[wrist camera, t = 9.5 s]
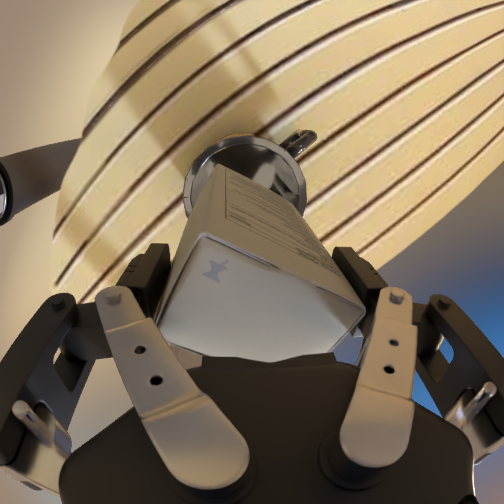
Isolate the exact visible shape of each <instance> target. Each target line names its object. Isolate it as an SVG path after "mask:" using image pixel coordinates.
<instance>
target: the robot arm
mask: <svg viewBox="0 0 504 504" xmlns="http://www.w3.org/2000/svg"><path fill="white" fill-rule="evenodd" d="M7 206H8V189H7V184H6V181H5V178H4V176H3V174H2V173H1V171H0V218H2V217H3V216H4V214H5V213H6V210H7ZM332 259H333V260H334V262H335V263H336V265H337V266H338V268H339V269H340V270H341V272H342V273H343V275H344V276H345V278H346V279H347V281H348V282H349V283H350V285H351V286H352V288H353V289H354V291H355V292H356V294H357V295H358V297H359V298H360V300H361V301H362V303H363V304H364V306H365V308H366V314H365V316H364V317H363V318H362V319H361V320H360V321H359V322H358V323H357V324H356V326H355V327H354V328H353V329H352V330H351V331H350V333H351V335H352V337H359V336H363V337H364V339H363V342H362V345H361V348H360V351H359V354H358V357H357V360H356V363H355V365H352V364H348V363H343V362H337V361H336V358H335V356H334V353H333V352H331V353H320V354H306V355H300V356H296V357H293V358H289V359H285V360H281V361H277V362H262V361H256V360H251V359H245V358H240V357H216V356H202V365H201V366H197V367H193V368H189V369H186V370H185V369H184V367H183V366H182V364H181V363H180V361H179V360H178V358H177V357H176V355H175V354H174V352H173V351H172V349H171V348H170V346H169V345H168V343H167V342H166V340H165V339H164V337H163V335H162V334H161V332H160V331H159V329H158V327H157V326H156V324H155V322H154V321H155V317H156V314H157V310H158V307H159V304H160V300H161V297H162V294H163V290H164V287H165V284H166V281H167V278H168V275H169V272H170V269H171V262H170V252H169V245H168V244H159V243H151V244H150V246H149V248H148V249H147V251H146V253H145V254H139V255H138V256H136V257H135V258H133V259H132V260H131V262H130V263H129V265H128V267H127V268H126V269H125V272H123V274H122V276H121V277H120V279H119V280H118V282H117V284H116V285H115V286H111V287H108V288H105V289H103V290H101V291H100V292H99V293H98V294H97V295H96V297H95V302H92V303H85V304H76V301H75V298H74V296H73V295H71V294H69V293H59V294H55V295H53V296H51V297H49V298H48V299H47V300H46V301H45V302H44V303H43V304H42V305H41V307H40V308H39V309H38V311H37V312H36V313H35V314H34V316H33V317H32V318H31V319H30V321H29V322H28V323H27V325H26V326H25V327H24V329H23V330H22V331H21V333H20V334H19V336H18V337H17V338H16V340H15V341H14V343H13V344H12V345H11V347H10V348H9V350H8V351H7V353H6V354H5V356H4V357H3V359H2V360H1V362H0V469H1V470H3V471H4V472H5V473H7V474H8V475H10V476H11V477H12V478H14V479H16V480H18V481H20V482H22V483H23V484H25V485H26V486H28V487H29V488H31V489H34V490H45V491H47V492H49V493H52V494H54V495H56V496H58V497H60V498H61V501H62V504H479V503H478V501H477V499H476V496H475V491H474V481H473V466H474V465H477V464H480V463H481V462H482V461H484V460H485V459H486V458H487V457H489V456H490V455H491V454H492V453H494V452H495V451H496V450H497V449H498V448H500V447H501V446H502V445H503V444H504V358H503V357H502V356H501V354H500V353H499V352H498V351H497V349H496V348H495V347H494V346H493V345H492V343H491V342H490V341H489V340H488V339H487V337H486V336H485V335H484V334H483V333H482V331H481V330H480V329H479V328H478V327H477V326H476V325H475V324H474V322H473V321H472V320H471V319H470V318H469V317H468V316H467V315H466V314H465V313H464V312H463V310H462V309H461V308H460V307H459V306H458V305H457V304H456V303H455V302H454V301H453V300H452V299H450V298H448V297H446V296H444V295H440V294H434V295H431V296H430V298H429V301H428V303H427V305H425V304H419V303H413V299H412V297H411V296H410V294H408V293H407V292H406V291H404V290H402V289H399V288H396V287H389V286H388V284H387V283H386V282H385V281H384V280H383V279H382V277H381V276H380V275H378V273H377V271H376V270H374V268H373V266H372V265H371V264H370V263H369V262H367V261H366V260H364V259H363V258H361V257H359V256H358V255H357V253H356V252H355V251H354V250H353V249H352V248H351V247H335V248H334V250H333V253H332ZM444 338H446V340H447V341H448V342H449V344H450V345H451V346H452V348H453V351H454V357H453V360H452V361H451V363H450V364H449V363H448V362H447V360H446V359H445V357H444V356H443V354H442V353H441V352H440V350H439V347H440V345H441V343H442V341H443V340H444ZM58 348H60V350H61V353H60V355H59V356H58V358H57V360H56V362H55V364H53V359H54V355H55V353H56V351H57V349H58ZM111 357H113V358H114V360H115V363H116V366H117V368H118V371H119V373H120V375H121V378H122V381H123V383H124V385H125V387H126V390H127V392H128V394H129V396H130V399H131V401H132V403H133V405H134V406H133V407H132V408H131V409H129V410H128V411H127V412H126V413H124V414H123V415H122V416H120V417H119V418H118V419H117V420H115V421H114V422H113V423H111V424H110V425H109V426H108V427H106V428H105V429H103V430H102V431H101V432H99V433H98V434H97V435H95V436H94V437H93V438H91V439H90V440H89V441H87V442H86V443H85V444H83V445H82V446H81V447H79V448H78V449H76V450H75V451H74V452H73V453H71V446H72V443H71V438H70V436H69V434H68V432H67V430H68V426H69V424H70V421H71V419H72V416H73V413H74V411H75V408H76V405H77V403H78V400H79V398H80V395H81V393H82V390H83V388H84V386H85V383H86V381H87V379H88V376H89V374H90V372H91V369H92V367H93V365H94V363H95V360H96V359H103V358H111ZM415 369H416V371H417V373H418V374H419V376H420V378H421V379H422V381H423V383H424V385H425V386H426V388H427V390H428V392H429V393H430V395H431V397H432V399H433V400H434V402H435V404H436V406H437V408H438V410H439V411H440V413H441V415H442V417H443V418H441V417H440V416H438V415H436V414H435V413H433V412H431V411H430V410H428V409H426V408H425V407H423V406H421V405H420V404H418V403H417V402H415V401H413V400H412V391H413V383H414V374H415Z"/></svg>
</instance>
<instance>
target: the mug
mask: <svg viewBox="0 0 504 504" xmlns="http://www.w3.org/2000/svg"><path fill="white" fill-rule="evenodd" d="M316 140H317V134H316V133H315V132H314V131H311V130H300V129H299V130H296V131H295V132H294V133H293V134H292V135H290V136H289V137H288V138H287V139H286V140H284V141H283V142H282V143H281V144H280V145H277V144H276V143H274V142H272V141H270V140H268V139H266V138H264V137H261V136H257V135H253V134H247V133H241V134H233V135H228V136H226V137H224V138H222V139H219V140H217V141H215V142H214V143H213V144H212V145H210V146H209V147H208V148H207V149H206V150H205V151H204V152H203V153H202V154H201V155H200V156H199V157H198V158H197V159H196V160H195V161H194V162H193V164H192V166H191V168H190V170H189V172H188V174H187V176H186V178H185V183H184V190H183V203H184V208H185V213H186V215H187V218H189V216H190V213H191V211H192V209H193V206H194V204H195V202H196V200H197V198H198V196H199V194H200V192H201V190H202V189H203V187H204V185H205V183H206V181H207V180H208V178H209V176H210V174H211V173H212V171H213V169H214V168H215V166H216V165H217V164H220V165H222V166H225V167H227V168H229V169H231V170H233V171H235V172H237V173H239V174H241V175H243V176H245V177H247V178H249V179H251V180H253V181H255V182H256V183H258V184H260V185H262V186H264V187H266V188H267V189H269V190H271V191H273V192H274V193H276V194H278V195H279V196H281V197H283V198H284V199H286V200H288V201H289V202H291V203H292V204H293V205H294V207H295V208H296V209H297V211H298V212H299V213H300V215H301V216H302V217H303V214H304V210H305V206H306V203H307V193H306V181H305V178H304V176H303V173H302V171H301V168H300V166H299V164H298V163H297V162H296V161H295V158H296V157H297V156H298V155H299V154H301V153H302V152H303V151H304V150H305V149H307V148H308V147H309V146H310V145H311V144H313V143H314V142H315V141H316Z"/></svg>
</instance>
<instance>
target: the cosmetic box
mask: <svg viewBox="0 0 504 504" xmlns="http://www.w3.org/2000/svg"><path fill="white" fill-rule="evenodd" d="M365 314H366V308H365V306H364V304H363V303H362V301H361V300H360V298H359V297H358V295H357V294H356V292H355V291H354V289H353V288H352V286H351V285H350V283H349V282H348V281H347V279H346V278H345V276H344V275H343V273H342V272H341V270H340V269H339V268H338V266H337V265H336V263H335V262H334V260H333V259H332V257H331V256H330V255H329V253H328V252H327V250H326V249H325V247H324V246H323V245H322V243H321V242H320V241H319V239H318V238H317V236H316V235H315V234H314V232H313V231H312V230H311V228H310V227H309V226H308V224H307V223H306V222H305V220H304V219H303V218H302V216H301V215H300V213H299V212H298V211H297V209H296V208H295V207H294V205H293V204H292V203H291V202H289V201H288V200H286V199H284V198H283V197H281V196H279V195H278V194H276V193H274V192H273V191H271V190H269V189H267V188H266V187H264V186H262V185H260V184H258V183H256V182H255V181H253V180H251V179H249V178H247V177H245V176H243V175H241V174H239V173H237V172H235V171H233V170H231V169H229V168H227V167H225V166H222V165H220V164H217V165H216V166H215V168H214V169H213V171H212V173H211V174H210V176H209V178H208V180H207V181H206V183H205V185H204V187H203V189H202V190H201V192H200V194H199V196H198V198H197V200H196V202H195V204H194V206H193V209H192V211H191V213H190V216H189V218H188V221H187V224H186V226H185V229H184V232H183V235H182V237H181V240H180V243H179V246H178V248H177V251H176V254H175V257H174V260H173V263H172V266H171V269H170V272H169V275H168V278H167V281H166V284H165V287H164V290H163V294H162V297H161V300H160V304H159V307H158V310H157V314H156V317H155V321H154V322H155V324H156V326H157V327H158V329H159V331H160V332H161V334H162V335H163V337H164V339H165V340H166V342H167V343H168V344H170V345H173V346H175V347H178V348H181V349H183V350H185V351H188V352H191V353H193V354H196V355H199V356H201V357H202V356H216V357H240V358H245V359H251V360H256V361H262V362H277V361H281V360H285V359H289V358H293V357H296V356H300V355H306V354H320V353H330V352H331V351H332V350H333V349H334V348H335V347H336V346H337V344H339V343H340V342H341V341H342V340H343V338H344V337H345V336H346V335H347V334H348V333H349V332H350V331H351V330H352V329H353V328H354V327H355V326H356V324H357V323H358V322H359V321H360V320H361V319H362V318H363V317H364V316H365Z"/></svg>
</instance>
